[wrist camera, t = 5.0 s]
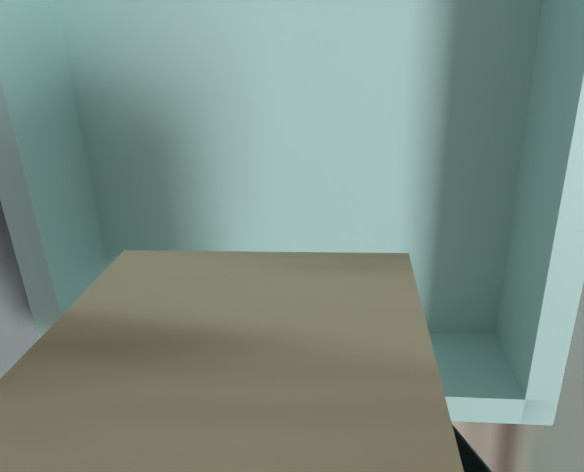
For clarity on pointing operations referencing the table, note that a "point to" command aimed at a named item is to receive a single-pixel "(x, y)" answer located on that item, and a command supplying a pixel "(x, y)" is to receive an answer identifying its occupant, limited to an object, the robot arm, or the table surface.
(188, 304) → the cube
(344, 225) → the tote
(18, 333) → the table surface
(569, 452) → the table surface
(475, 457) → the robot arm
